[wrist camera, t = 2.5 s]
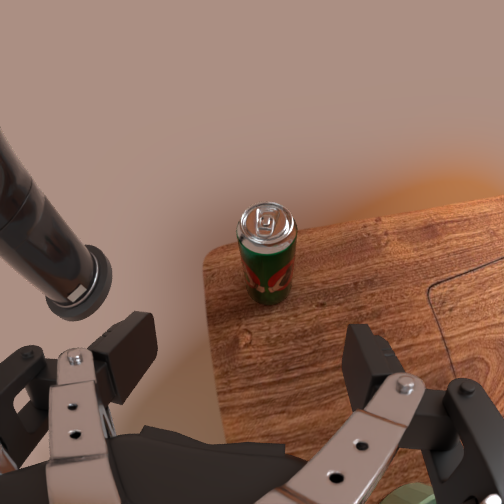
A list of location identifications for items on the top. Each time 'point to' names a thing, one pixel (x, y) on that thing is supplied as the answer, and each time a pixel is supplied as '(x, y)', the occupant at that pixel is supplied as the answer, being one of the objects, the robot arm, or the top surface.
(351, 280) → the top surface
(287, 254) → the soda can
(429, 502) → the can holder
